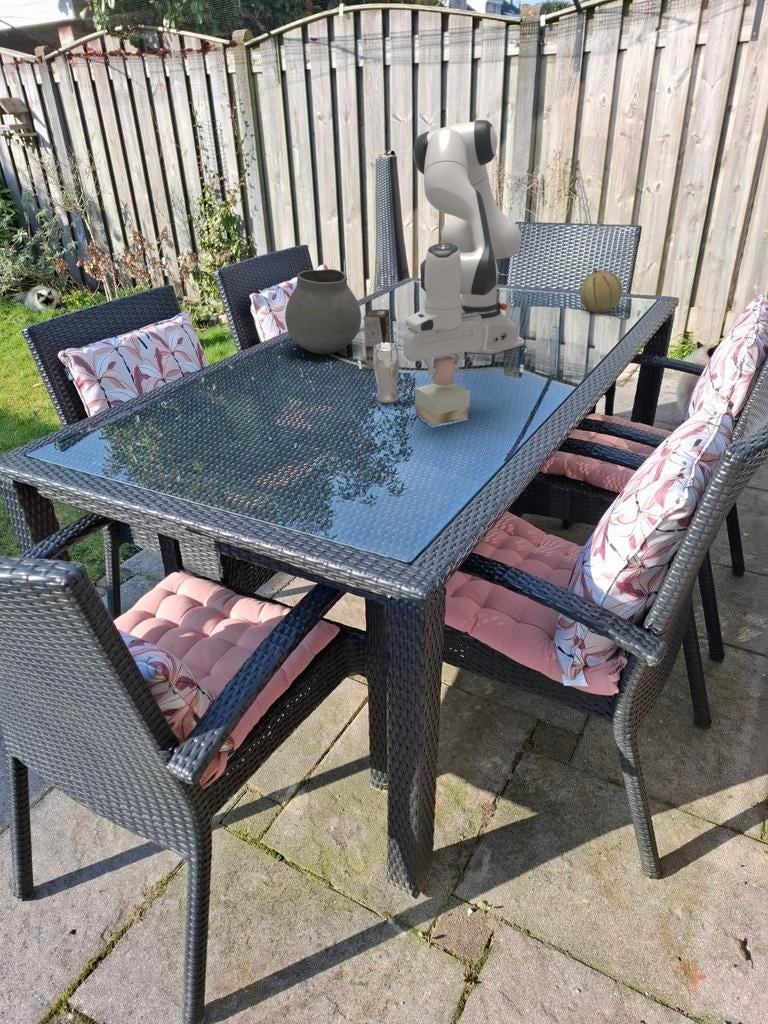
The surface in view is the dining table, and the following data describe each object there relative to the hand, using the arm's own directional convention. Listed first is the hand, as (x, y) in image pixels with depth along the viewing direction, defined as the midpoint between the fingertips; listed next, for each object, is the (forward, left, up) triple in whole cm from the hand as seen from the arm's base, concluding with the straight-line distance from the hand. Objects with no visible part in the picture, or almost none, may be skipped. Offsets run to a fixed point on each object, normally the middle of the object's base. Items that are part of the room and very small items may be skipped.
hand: (443, 372), depth 174 cm
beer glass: (+8, -18, -12) cm, 23 cm away
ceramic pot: (+9, -68, -12) cm, 70 cm away
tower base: (+1, 0, -12) cm, 13 cm away
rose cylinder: (0, 0, -3) cm, 3 cm away
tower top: (+1, 0, -8) cm, 9 cm away
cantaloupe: (-94, -59, -12) cm, 112 cm away
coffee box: (-1, -46, -12) cm, 48 cm away
